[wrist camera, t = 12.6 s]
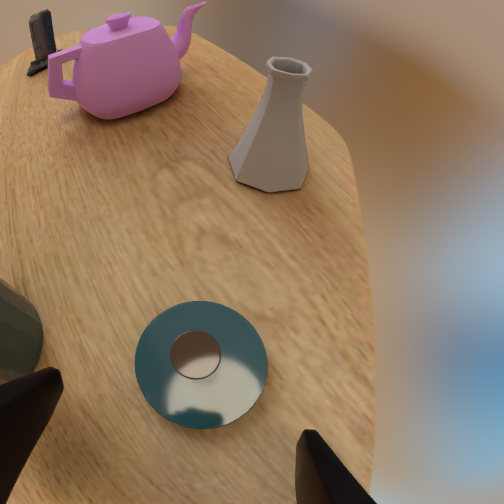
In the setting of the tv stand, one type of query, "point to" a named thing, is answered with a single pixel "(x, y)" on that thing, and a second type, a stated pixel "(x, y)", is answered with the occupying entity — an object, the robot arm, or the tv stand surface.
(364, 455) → the tv stand surface
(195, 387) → the lid
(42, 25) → the beverage can
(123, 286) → the tv stand surface
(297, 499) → the robot arm
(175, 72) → the teapot
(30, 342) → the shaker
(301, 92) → the flask
